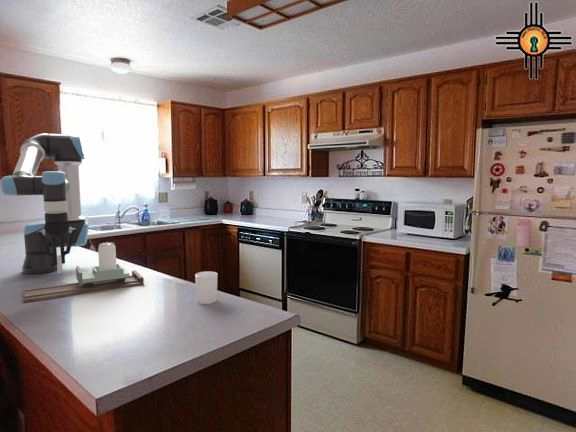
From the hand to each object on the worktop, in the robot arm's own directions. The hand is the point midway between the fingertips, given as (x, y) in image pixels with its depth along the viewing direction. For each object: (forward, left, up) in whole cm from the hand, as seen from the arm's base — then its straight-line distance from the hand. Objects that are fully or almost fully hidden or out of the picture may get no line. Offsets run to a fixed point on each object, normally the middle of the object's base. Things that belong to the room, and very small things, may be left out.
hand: (60, 272), depth 150 cm
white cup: (+43, +43, -8) cm, 61 cm away
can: (+1, +17, -3) cm, 17 cm away
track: (+1, +9, -8) cm, 12 cm away
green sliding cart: (+1, +15, -6) cm, 16 cm away
